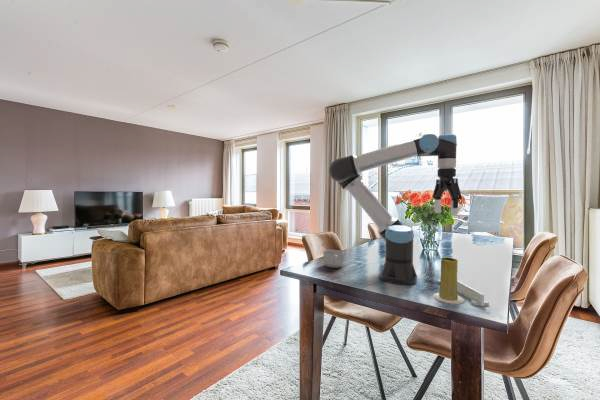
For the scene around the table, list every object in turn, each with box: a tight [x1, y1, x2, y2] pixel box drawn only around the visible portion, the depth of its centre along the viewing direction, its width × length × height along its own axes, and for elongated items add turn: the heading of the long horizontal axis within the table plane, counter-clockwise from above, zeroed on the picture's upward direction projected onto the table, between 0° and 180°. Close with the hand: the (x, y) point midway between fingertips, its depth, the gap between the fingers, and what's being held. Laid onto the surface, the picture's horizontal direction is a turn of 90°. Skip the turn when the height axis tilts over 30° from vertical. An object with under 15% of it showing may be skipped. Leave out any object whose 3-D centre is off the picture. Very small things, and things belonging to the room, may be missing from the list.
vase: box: [438, 256, 459, 300], centre depth 102 cm, size 6×6×14 cm
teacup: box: [323, 249, 345, 269], centre depth 143 cm, size 14×11×8 cm
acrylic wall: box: [436, 279, 490, 307], centre depth 108 cm, size 5×26×4 cm, turn 2°
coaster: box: [432, 292, 465, 305], centre depth 102 cm, size 10×10×1 cm
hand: (445, 214), depth 130 cm, fingers open, 13 cm apart
